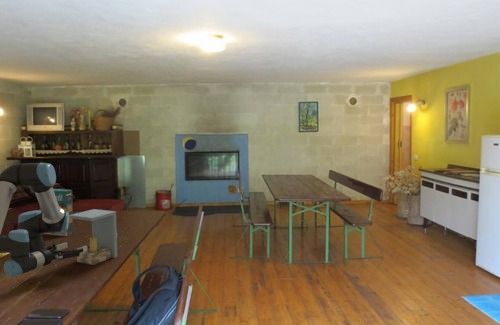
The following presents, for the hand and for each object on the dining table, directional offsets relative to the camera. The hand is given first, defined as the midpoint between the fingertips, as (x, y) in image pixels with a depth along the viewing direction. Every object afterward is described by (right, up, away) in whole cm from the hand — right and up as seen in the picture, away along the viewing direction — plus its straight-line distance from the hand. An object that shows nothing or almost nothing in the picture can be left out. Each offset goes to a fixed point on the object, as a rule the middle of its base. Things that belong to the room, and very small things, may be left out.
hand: (76, 246), depth 201 cm
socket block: (+4, -10, +11) cm, 16 cm away
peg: (+4, -10, +11) cm, 15 cm away
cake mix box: (-41, -5, +64) cm, 76 cm away
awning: (+4, -10, +11) cm, 16 cm away
